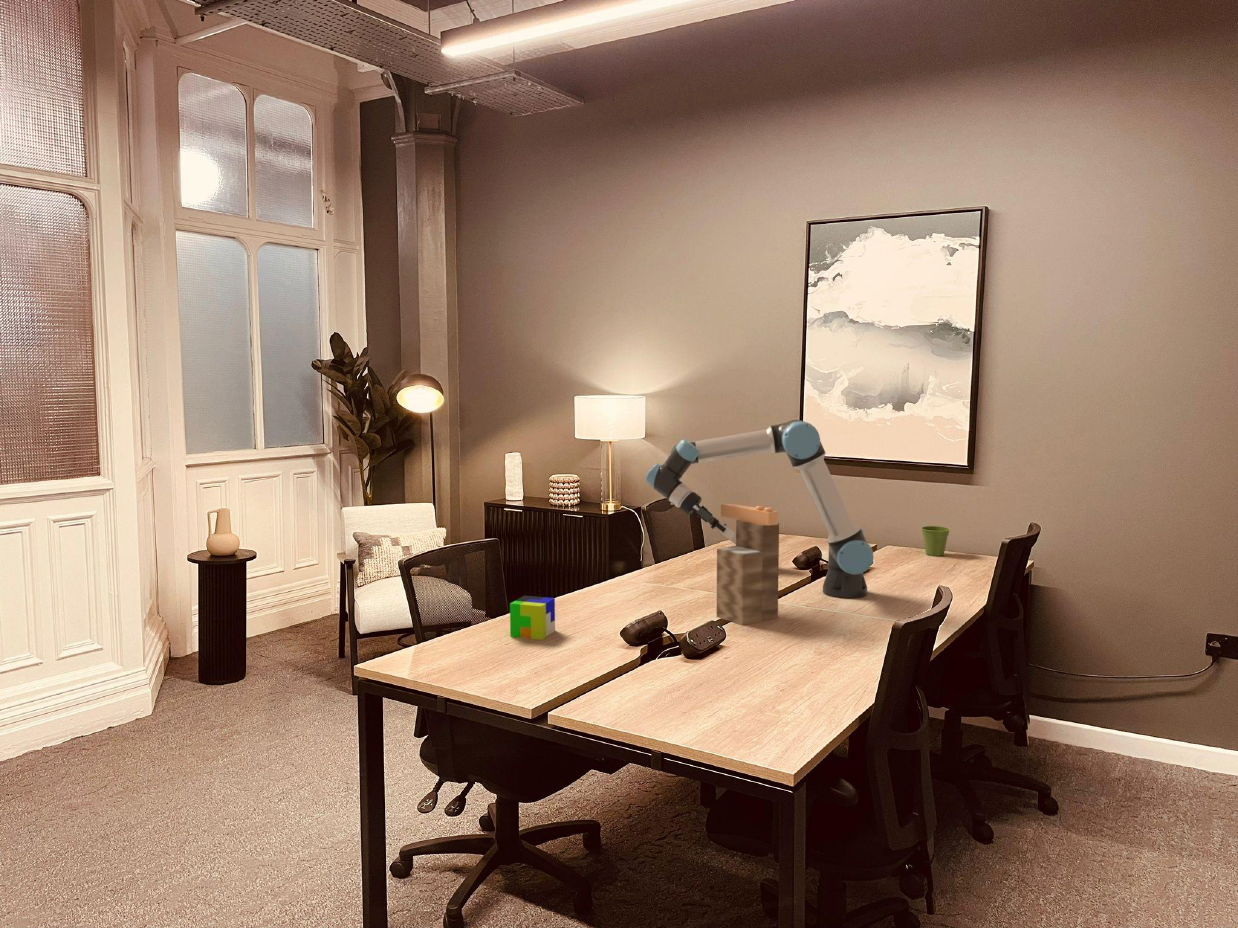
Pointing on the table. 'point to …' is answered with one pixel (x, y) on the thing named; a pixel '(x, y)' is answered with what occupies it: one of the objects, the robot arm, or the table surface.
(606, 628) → the table surface
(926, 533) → the plant pot
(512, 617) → the puzzle toy
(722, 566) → the step stand
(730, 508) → the orange beam
